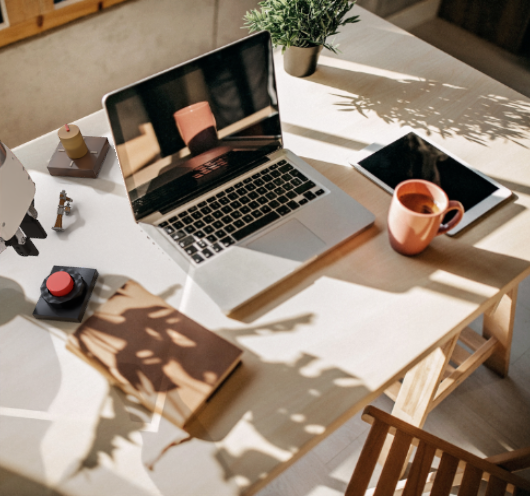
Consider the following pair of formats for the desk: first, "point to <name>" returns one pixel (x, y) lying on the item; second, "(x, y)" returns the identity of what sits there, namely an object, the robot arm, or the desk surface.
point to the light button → (60, 283)
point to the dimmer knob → (72, 141)
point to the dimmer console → (80, 159)
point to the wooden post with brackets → (62, 210)
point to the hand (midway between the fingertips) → (33, 244)
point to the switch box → (67, 296)
